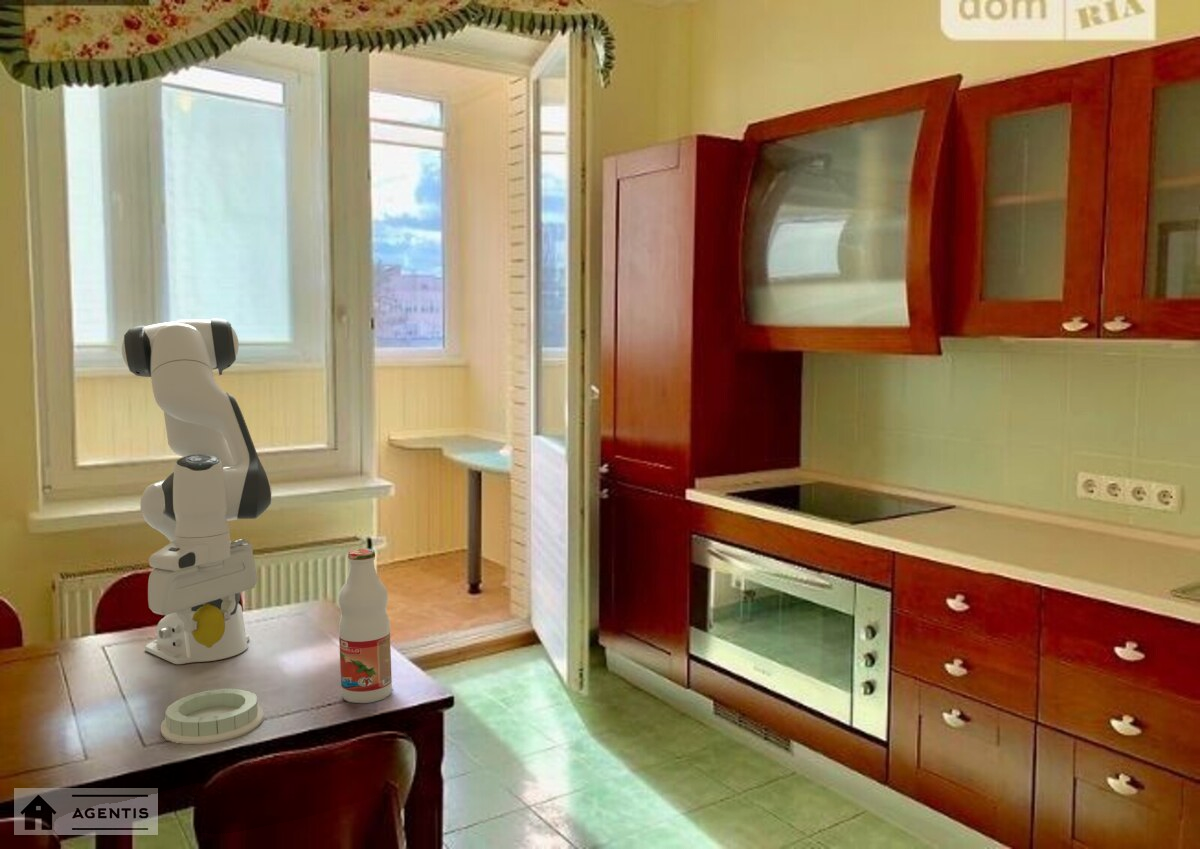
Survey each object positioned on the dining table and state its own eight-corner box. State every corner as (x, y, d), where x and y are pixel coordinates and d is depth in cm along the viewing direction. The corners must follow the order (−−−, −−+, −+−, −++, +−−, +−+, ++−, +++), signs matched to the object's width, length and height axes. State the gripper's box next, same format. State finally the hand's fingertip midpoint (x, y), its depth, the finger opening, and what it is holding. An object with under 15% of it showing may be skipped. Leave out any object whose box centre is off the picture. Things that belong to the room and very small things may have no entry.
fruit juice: (401, 694, 185) (396, 551, 182) (357, 708, 179) (351, 560, 175) (376, 681, 192) (370, 543, 189) (332, 694, 185) (326, 551, 182)
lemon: (214, 654, 168) (212, 609, 167) (185, 652, 169) (183, 607, 168) (232, 643, 173) (230, 600, 172) (204, 641, 174) (202, 598, 173)
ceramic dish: (139, 732, 169) (138, 713, 169) (220, 698, 184) (219, 680, 184) (205, 752, 161) (204, 732, 161) (284, 715, 176) (283, 697, 175)
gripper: (239, 535, 180) (243, 607, 181) (139, 559, 162) (145, 639, 163) (263, 538, 177) (266, 612, 178) (164, 563, 159) (169, 645, 160)
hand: (207, 625), depth 171 cm, fingers closed on lemon, 6 cm apart
